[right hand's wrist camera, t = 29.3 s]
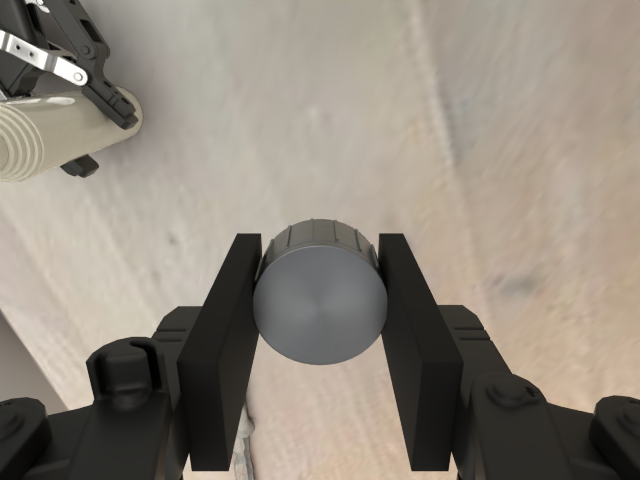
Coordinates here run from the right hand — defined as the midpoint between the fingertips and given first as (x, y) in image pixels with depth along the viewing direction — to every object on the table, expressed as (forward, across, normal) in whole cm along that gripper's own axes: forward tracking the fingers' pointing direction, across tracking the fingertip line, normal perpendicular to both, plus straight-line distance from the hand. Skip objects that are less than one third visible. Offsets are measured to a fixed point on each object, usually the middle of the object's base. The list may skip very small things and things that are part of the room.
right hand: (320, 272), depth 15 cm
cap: (-2, 0, 0) cm, 2 cm away
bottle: (+27, -18, +2) cm, 33 cm away
